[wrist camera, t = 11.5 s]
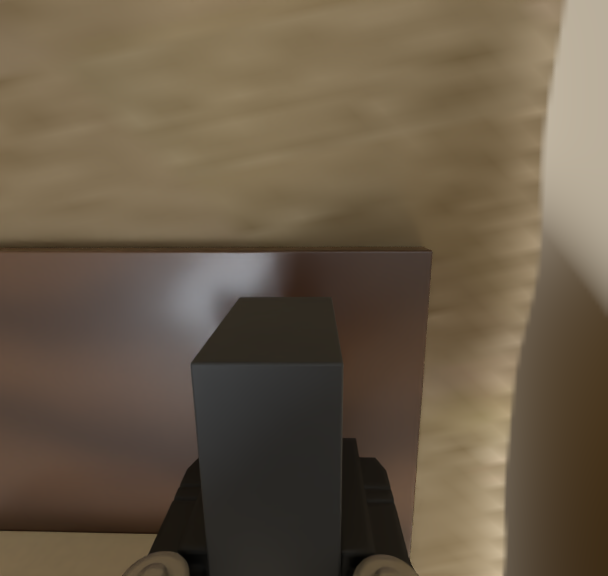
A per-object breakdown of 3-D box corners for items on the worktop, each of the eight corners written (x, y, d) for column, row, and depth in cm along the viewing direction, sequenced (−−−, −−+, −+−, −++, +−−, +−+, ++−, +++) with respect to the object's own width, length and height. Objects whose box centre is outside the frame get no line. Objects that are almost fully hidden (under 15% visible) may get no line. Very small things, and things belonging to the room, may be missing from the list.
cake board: (-104, 247, 14) (-134, 251, 13) (425, 246, 14) (433, 250, 13) (17, 711, 20) (2, 737, 19) (391, 724, 20) (396, 752, 19)
